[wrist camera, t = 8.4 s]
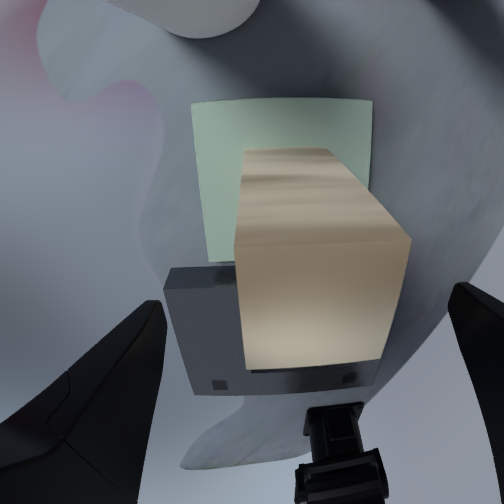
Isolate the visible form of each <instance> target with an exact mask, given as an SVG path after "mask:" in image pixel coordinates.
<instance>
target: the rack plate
mask: <svg viewBox="0 0 504 504" xmlns="http://www.w3.org/2000/svg"><path fill="white" fill-rule="evenodd" d="M404 281H405V276H404V279H403V283H402V287H401V291H400V295H399V299H398V302H397V306H396V310H395V313H394V317H393V320H392V324H393V321H394V318H395V314H396V311H397V307H398V304H399V300H400V296H401V292H402V289H403V285H404ZM163 291H164V295H165V299H166V302H167V306H168V310H169V313H170V317H171V321H172V324H173V328H174V331H175V335H176V338H177V342H178V345H179V348H180V352H181V355H182V358H183V361H184V365H185V368H186V371H187V374H188V377H189V380H190V383H191V386H192V389H193V392H194V395H218V396H220V395H222V396H223V395H224V396H233V395H234V396H238V395H273V394H291V393H305V392H317V391H327V390H336V389H345V388H353V387H361V386H368V385H372V383H373V380H374V378H375V375H376V372H377V370H378V367H379V364H380V361H381V358H382V355H383V352H384V349H385V346H386V343H387V340H388V337H389V334H390V331H391V328H392V324H391V327H390V330H389V334H388V337H387V340H386V343H385V346H384V349H383V352H382V355H381V358H380V359H373V360H366V361H358V362H349V363H340V364H330V365H320V366H308V367H294V368H277V369H253V370H246V364H245V355H244V345H243V336H242V327H241V317H240V307H239V297H238V288H237V278H236V267H235V266H212V267H185V268H171V269H170V272H169V275H168V277H167V280H166V283H165V285H164V288H163Z"/></svg>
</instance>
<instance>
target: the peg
mask: <svg viewBox="0 0 504 504" xmlns="http://www.w3.org/2000/svg"><path fill="white" fill-rule="evenodd" d="M411 243H412V240H411V238H410V237H409V236H408V235H407V234H406V232H405V231H404V230H403V229H402V228H401V226H400V225H399V224H398V223H397V222H396V221H395V220H394V218H393V217H392V216H391V215H390V214H389V213H388V212H387V210H386V209H385V208H384V207H383V206H382V205H381V204H380V203H379V201H378V200H377V199H376V198H375V197H374V196H373V195H372V194H371V193H370V192H369V191H368V190H367V188H366V187H365V186H364V185H363V184H362V183H361V182H360V181H359V180H358V179H357V178H356V177H355V176H354V175H353V174H352V173H351V172H350V171H349V170H348V169H347V168H346V167H345V166H344V165H343V164H342V163H341V162H340V161H339V160H338V159H337V158H336V157H335V156H334V155H333V154H332V153H331V152H330V151H329V150H328V149H327V148H326V147H274V148H251V149H244V158H243V167H242V175H241V184H240V193H239V202H238V211H237V221H236V230H235V240H234V257H235V267H236V278H237V288H238V297H239V307H240V317H241V327H242V336H243V345H244V355H245V364H246V370H253V369H277V368H294V367H308V366H320V365H330V364H340V363H349V362H358V361H366V360H373V359H380V358H381V355H382V352H383V349H384V346H385V343H386V340H387V337H388V334H389V330H390V327H391V324H392V320H393V317H394V313H395V310H396V306H397V302H398V299H399V295H400V291H401V287H402V283H403V279H404V275H405V270H406V266H407V262H408V257H409V252H410V248H411Z"/></svg>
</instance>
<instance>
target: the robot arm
mask: <svg viewBox="0 0 504 504" xmlns="http://www.w3.org/2000/svg"><path fill="white" fill-rule="evenodd" d="M448 312H449V315H450V318H451V321H452V324H453V328H454V330H455V334H456V338H457V341H458V344H459V348H460V351H461V353H462V356H463V359H464V361H465V364H466V367H467V369H468V372H469V375H470V378H471V381H472V384H473V386H474V390H475V393H476V396H477V399H478V402H479V405H480V408H481V412H482V415H483V419H484V422H485V426H486V429H487V433H488V437H489V441H490V444H491V449H492V453H493V456H494V457H493V458H494V463H495V468H496V473H497V477H498V484H499V489H500V496H501V502H502V504H504V303H503V302H501V301H499V300H498V299H496V298H494V297H493V296H491V295H489V294H487V293H486V292H484V291H482V290H480V289H478V288H477V287H475V286H473V285H471V284H470V283H468V282H459V283H456V284H455V285H454V288H453V290H452V293H451V296H450V299H449V302H448ZM166 335H167V321H166V317H165V313H164V310H163V306H162V303H161V302H160V301H159V300H147V301H145V302H144V303H143V304H142V305H140V306H139V307H138V308H137V309H136V310H134V311H133V312H132V313H131V314H130V315H129V316H127V317H126V318H125V319H124V320H123V321H122V322H120V323H119V324H118V325H117V326H116V327H115V328H114V329H112V330H111V331H110V332H109V333H108V334H107V335H106V336H104V337H103V338H102V339H101V340H100V341H99V342H98V343H97V344H95V345H94V346H93V347H92V348H91V349H90V350H89V351H88V352H86V353H85V354H84V355H83V356H82V357H81V358H80V359H79V360H77V362H75V363H74V364H73V365H72V366H71V367H70V368H69V369H68V371H65V372H64V373H63V374H62V375H61V376H60V377H59V378H57V379H56V380H55V381H54V382H53V383H52V384H50V386H48V387H47V388H46V389H45V390H43V391H42V392H41V393H40V394H38V395H37V396H36V397H35V398H33V399H32V400H31V401H30V402H28V403H27V404H26V405H25V406H23V407H22V408H20V409H19V410H18V411H17V412H15V413H14V414H12V415H11V416H10V417H9V418H7V419H6V420H5V421H3V422H2V423H0V504H137V503H138V502H137V500H138V495H139V489H140V483H141V477H142V472H143V466H144V460H145V455H146V450H147V444H148V439H149V434H150V429H151V424H152V419H153V414H154V410H155V405H156V400H157V396H158V390H159V386H160V382H161V377H162V371H163V362H164V353H165V344H166ZM363 408H364V404H363V403H362V402H359V403H352V404H345V405H336V406H328V407H318V408H310V409H308V410H307V412H306V418H305V424H304V430H303V435H304V436H310V443H311V451H312V460H313V463H308V464H299V468H298V469H296V470H295V478H296V486H295V498H294V501H295V504H385V500H384V499H387V498H388V497H389V490H388V489H389V488H388V481H387V477H386V473H385V470H384V466H383V463H382V460H381V456H380V453H379V450H378V448H375V449H373V450H370V451H366V452H364V449H363V445H362V440H361V435H360V431H359V426H358V420H359V417H360V415H361V413H362V410H363Z"/></svg>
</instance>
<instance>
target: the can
mask: <svg viewBox="0 0 504 504" xmlns="http://www.w3.org/2000/svg"><path fill="white" fill-rule="evenodd" d="M104 1H106V2H108V3H111V4H113V5H115V6H117V7H119V8H122V9H124V10H126V11H128V12H130V13H132V14H134V15H136V16H138V17H141V18H143V19H145V20H147V21H149V22H151V23H153V24H155V25H157V26H159V27H161V28H163V29H165V30H167V31H169V32H171V33H173V34H176V35H179V36H182V37H187V38H209V37H214V36H218V35H222V34H224V33H227V32H229V31H231V30H233V29H235V28H237V27H238V26H240V25H241V24H242V23H244V22H245V21H246V20H247V19H248V18H249V17H250V16H251V15H252V13H253V12H254V11H255V9H256V7H257V6H258V4H259V1H260V0H104Z"/></svg>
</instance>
